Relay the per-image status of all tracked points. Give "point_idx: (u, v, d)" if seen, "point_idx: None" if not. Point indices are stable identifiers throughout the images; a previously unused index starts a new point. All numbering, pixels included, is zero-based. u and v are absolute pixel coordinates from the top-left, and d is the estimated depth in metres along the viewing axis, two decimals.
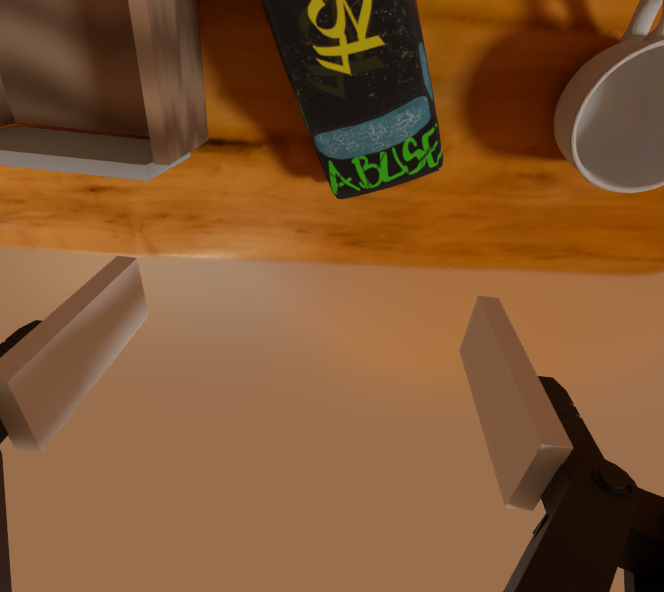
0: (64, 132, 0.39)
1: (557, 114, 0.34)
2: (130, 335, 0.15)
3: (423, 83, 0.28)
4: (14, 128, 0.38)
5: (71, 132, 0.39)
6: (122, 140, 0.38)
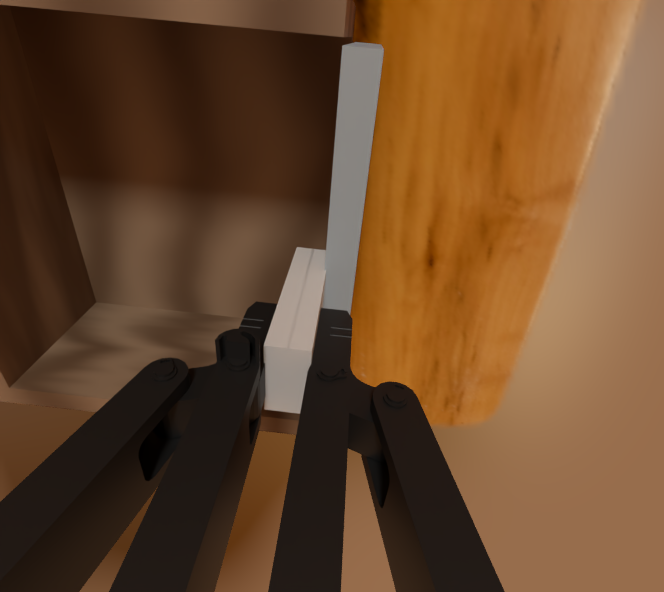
0: None
1: None
2: None
3: None
4: None
5: None
6: None
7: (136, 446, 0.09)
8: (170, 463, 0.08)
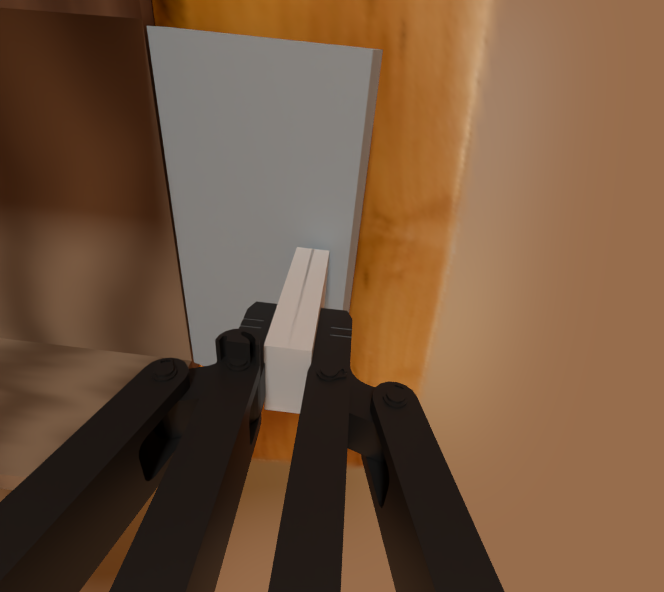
0: (195, 291, 0.22)
1: None
2: None
3: None
4: (209, 358, 0.24)
5: (188, 282, 0.21)
6: (196, 182, 0.18)
7: (136, 446, 0.09)
8: (170, 463, 0.08)
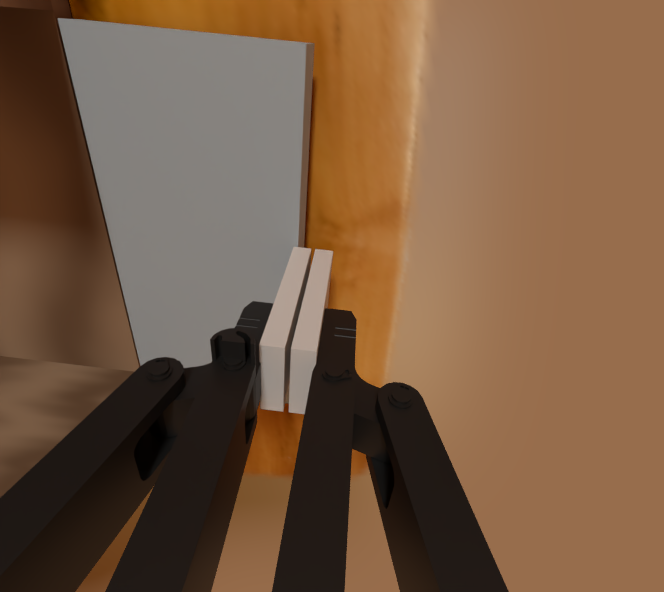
0: (137, 300, 0.21)
1: None
2: None
3: None
4: None
5: (129, 291, 0.20)
6: (129, 185, 0.17)
7: (131, 445, 0.09)
8: (166, 463, 0.08)
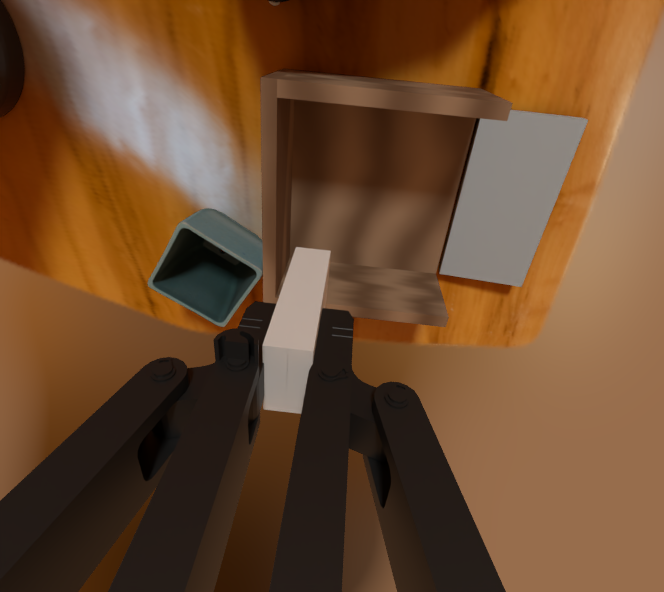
0: (458, 230, 0.42)
1: None
2: None
3: None
4: (451, 269, 0.45)
5: (455, 226, 0.42)
6: (482, 174, 0.39)
7: (135, 445, 0.09)
8: (169, 463, 0.08)
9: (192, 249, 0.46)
